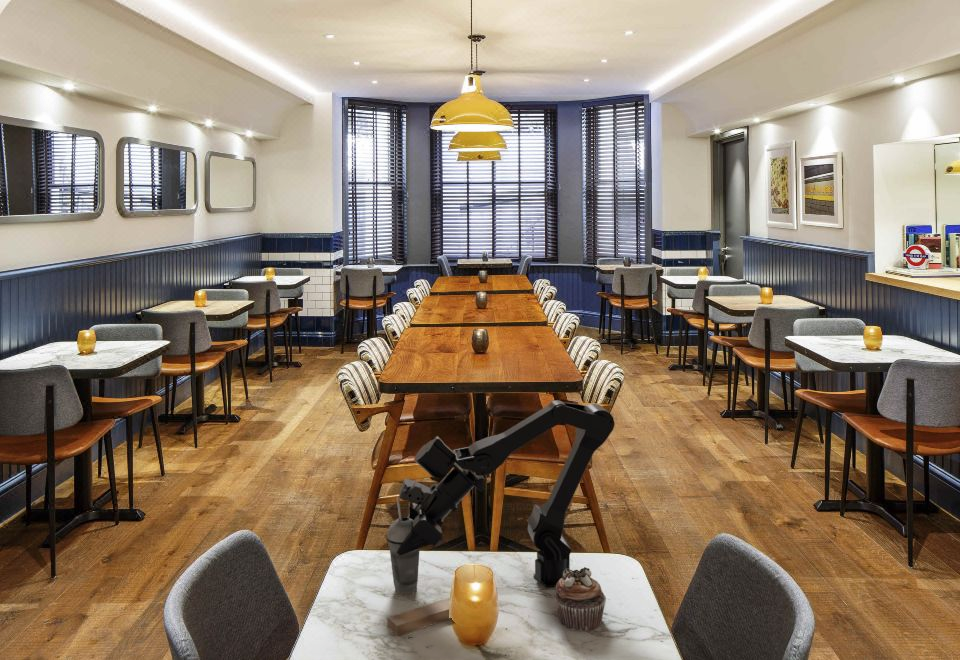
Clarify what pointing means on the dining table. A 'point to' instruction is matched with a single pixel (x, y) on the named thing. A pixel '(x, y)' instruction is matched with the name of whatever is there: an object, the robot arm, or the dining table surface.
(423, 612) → the walnut block
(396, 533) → the beverage cup
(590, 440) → the robot arm
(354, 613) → the dining table surface
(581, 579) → the cupcake
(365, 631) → the dining table surface
